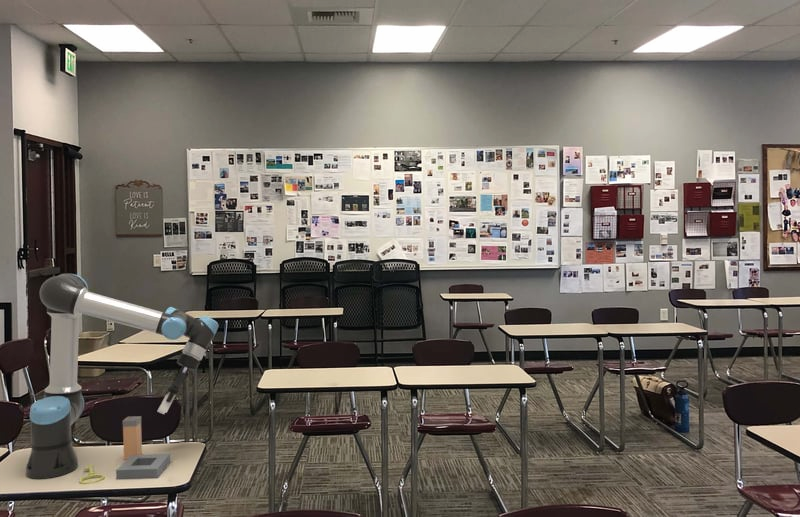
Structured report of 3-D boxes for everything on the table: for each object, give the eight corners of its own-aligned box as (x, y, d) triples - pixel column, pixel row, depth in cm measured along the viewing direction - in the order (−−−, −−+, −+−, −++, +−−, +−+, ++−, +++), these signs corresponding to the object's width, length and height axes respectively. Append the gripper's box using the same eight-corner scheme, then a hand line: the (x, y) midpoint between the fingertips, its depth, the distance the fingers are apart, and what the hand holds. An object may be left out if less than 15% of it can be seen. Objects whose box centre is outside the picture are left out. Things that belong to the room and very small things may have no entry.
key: (92, 470, 205) (92, 464, 205) (106, 480, 197) (106, 474, 196) (69, 476, 200) (68, 470, 200) (83, 487, 191) (82, 481, 191)
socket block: (116, 479, 196) (116, 470, 196) (131, 463, 209) (131, 455, 209) (157, 477, 197) (157, 468, 197) (170, 462, 210) (170, 453, 210)
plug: (123, 460, 212) (122, 420, 212) (128, 455, 217) (127, 416, 216) (137, 460, 213) (136, 420, 212) (142, 455, 217) (141, 416, 217)
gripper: (204, 357, 213) (174, 415, 204) (197, 365, 235) (169, 417, 226) (184, 348, 211) (152, 405, 203) (178, 357, 233) (150, 409, 225)
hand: (161, 412), depth 214 cm, fingers open, 13 cm apart
